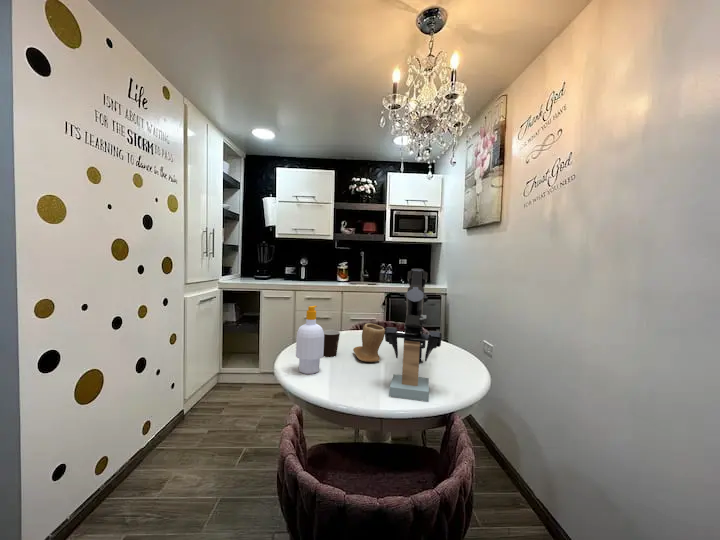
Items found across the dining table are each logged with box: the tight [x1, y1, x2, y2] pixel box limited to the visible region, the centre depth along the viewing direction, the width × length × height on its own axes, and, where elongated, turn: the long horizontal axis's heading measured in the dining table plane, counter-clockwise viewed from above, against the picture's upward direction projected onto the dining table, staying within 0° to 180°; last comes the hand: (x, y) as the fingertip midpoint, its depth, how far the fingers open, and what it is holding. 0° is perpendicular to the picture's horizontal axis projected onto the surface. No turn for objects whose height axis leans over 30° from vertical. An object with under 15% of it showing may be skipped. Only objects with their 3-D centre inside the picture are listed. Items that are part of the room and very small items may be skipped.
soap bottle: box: [295, 305, 324, 375], centre depth 122 cm, size 10×10×24 cm
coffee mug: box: [323, 329, 341, 358], centre depth 144 cm, size 12×9×10 cm
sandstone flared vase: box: [352, 323, 386, 363], centre depth 140 cm, size 15×12×15 cm
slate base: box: [389, 373, 430, 402], centre depth 107 cm, size 12×12×3 cm
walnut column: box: [401, 341, 420, 386], centre depth 107 cm, size 5×5×13 cm
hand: (411, 359), depth 105 cm, fingers open, 9 cm apart
